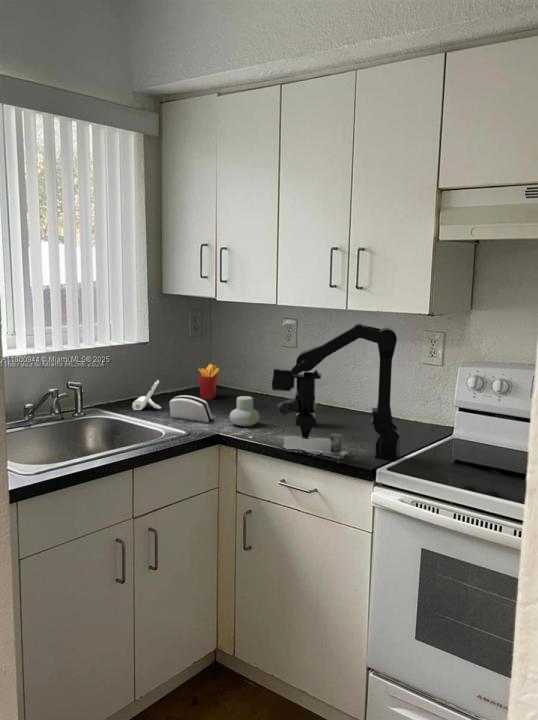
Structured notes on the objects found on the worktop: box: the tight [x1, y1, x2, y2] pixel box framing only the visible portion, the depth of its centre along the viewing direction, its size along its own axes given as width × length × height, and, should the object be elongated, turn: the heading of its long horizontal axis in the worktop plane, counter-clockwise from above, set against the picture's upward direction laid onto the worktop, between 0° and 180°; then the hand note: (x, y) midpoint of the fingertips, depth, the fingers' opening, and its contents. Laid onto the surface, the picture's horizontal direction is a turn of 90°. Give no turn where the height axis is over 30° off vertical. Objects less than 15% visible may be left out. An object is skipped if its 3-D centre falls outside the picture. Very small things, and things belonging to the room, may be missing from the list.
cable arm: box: [283, 433, 343, 453], centre depth 206 cm, size 18×4×5 cm, turn 81°
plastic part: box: [131, 379, 162, 411], centre depth 261 cm, size 8×10×12 cm
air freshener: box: [229, 395, 260, 427], centre depth 240 cm, size 11×8×10 cm
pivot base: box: [321, 450, 350, 459], centre depth 205 cm, size 6×6×1 cm
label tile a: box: [306, 450, 325, 454], centre depth 208 cm, size 6×5×1 cm
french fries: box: [197, 363, 220, 401], centre depth 283 cm, size 9×8×15 cm
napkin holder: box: [169, 394, 215, 423], centre depth 247 cm, size 17×5×10 cm, turn 62°
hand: (304, 440), depth 208 cm, fingers closed
